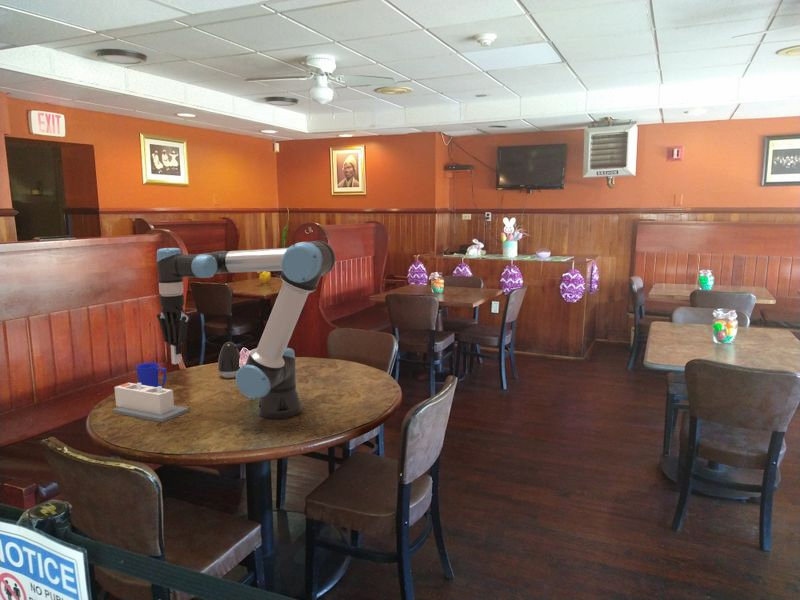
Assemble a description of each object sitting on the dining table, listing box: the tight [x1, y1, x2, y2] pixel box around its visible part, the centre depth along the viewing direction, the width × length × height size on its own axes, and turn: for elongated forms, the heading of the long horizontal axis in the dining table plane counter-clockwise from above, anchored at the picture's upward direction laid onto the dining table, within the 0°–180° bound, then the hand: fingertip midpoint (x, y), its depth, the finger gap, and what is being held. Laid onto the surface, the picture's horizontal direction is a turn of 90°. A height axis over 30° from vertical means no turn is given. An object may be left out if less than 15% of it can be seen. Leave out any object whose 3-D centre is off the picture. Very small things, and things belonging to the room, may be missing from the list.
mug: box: [135, 362, 167, 387], centre depth 228 cm, size 8×12×10 cm
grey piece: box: [112, 382, 190, 423], centre depth 202 cm, size 24×12×10 cm, turn 65°
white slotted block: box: [114, 382, 175, 414], centre depth 204 cm, size 22×6×7 cm, turn 65°
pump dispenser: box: [217, 341, 242, 379], centre depth 245 cm, size 10×10×15 cm
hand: (176, 363), depth 194 cm, fingers closed
